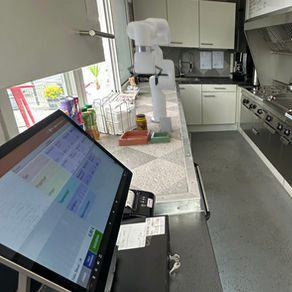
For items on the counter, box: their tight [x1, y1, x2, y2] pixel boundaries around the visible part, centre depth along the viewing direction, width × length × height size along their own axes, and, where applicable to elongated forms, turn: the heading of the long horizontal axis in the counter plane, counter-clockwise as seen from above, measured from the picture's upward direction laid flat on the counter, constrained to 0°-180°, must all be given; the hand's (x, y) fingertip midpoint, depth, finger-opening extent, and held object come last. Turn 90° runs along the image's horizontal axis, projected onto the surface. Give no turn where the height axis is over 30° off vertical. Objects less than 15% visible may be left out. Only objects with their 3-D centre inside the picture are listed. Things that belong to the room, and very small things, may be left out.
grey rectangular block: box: [159, 116, 173, 133], centre depth 151 cm, size 4×7×10 cm, turn 113°
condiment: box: [135, 113, 149, 131], centre depth 148 cm, size 7×8×12 cm
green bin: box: [150, 131, 171, 144], centre depth 138 cm, size 11×9×4 cm
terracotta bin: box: [118, 129, 152, 146], centre depth 136 cm, size 16×14×4 cm
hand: (146, 85), depth 125 cm, fingers open, 9 cm apart
